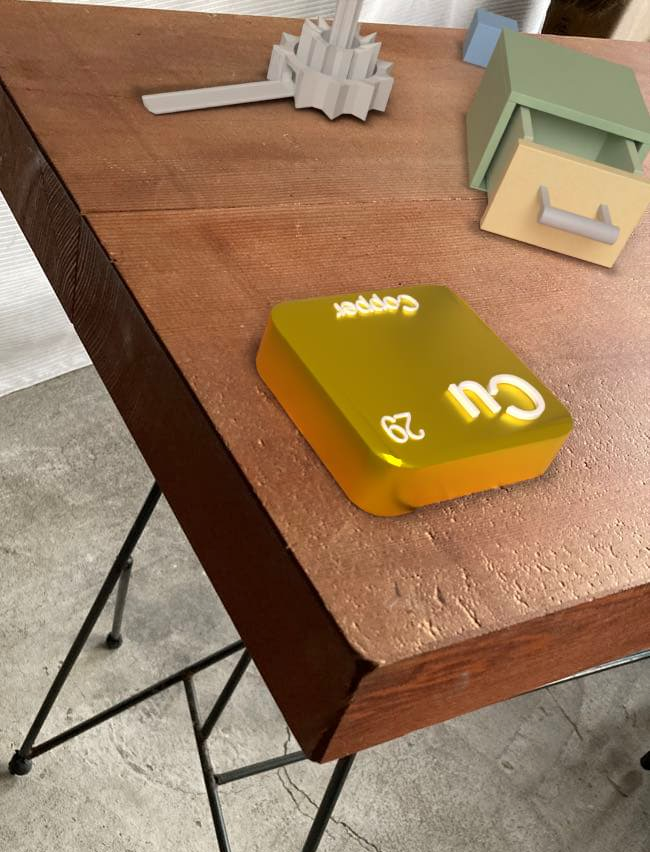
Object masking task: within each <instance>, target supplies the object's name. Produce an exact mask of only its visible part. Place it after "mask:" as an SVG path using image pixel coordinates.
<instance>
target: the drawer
mask: <svg viewBox="0 0 650 852" xmlns="http://www.w3.org/2000/svg"><path fill="white" fill-rule="evenodd" d="M642 165H643V164H642ZM642 165H641V162H640V159H639V155H638V152H637V149H636V146H635V143H634V140H633V139H629V138H626V137H623V136H620V135H617V134H613V133H610V132H607V131H604V130H601V129H597V128H594V127H591V126H588V125H585V124H581V123H578V122H575V121H572V120H569V119H566V118H562V117H559V116H556V115H553V114H550V113H546V112H543V111H540V110H537V109H534V108H530V107H527V106H524V105H521V104H518V103H516V106H515V108H514V110H513V113H512V115H511V117H510V119H509V121H508V124H507V126H506V128H505V130H504V133H503V135H502V137H501V139H500V142H499V144H498V146H497V148H496V151H495V153H494V155H493V157H492V160H491V162H490V164H489V166H488V168H487V171H486V182H487V192H486V194H487V205H486V208H485V210H484V212H483V214H482V216H481V218H480V221H479V228H480V230H483V231H486V232H490V233H492V234H497V235H499V236H502V237H506V238H510V239H512V240H516V241H518V242H522V243H526V244H529V245H533V246H536V247H539V248H542V249H546V250H549V251H553V252H556V253H559V254H563V255H566V256H569V257H573V258H575V259H579V260H583V261H585V262H589V263H592V264H596V265H598V266H602V267H606V268H609V269H611V268H612V267H613V265H614V264H615V263H616V261H617V259H618V257H619V256H620V255H621V253H622V251H623V249H624V248H625V245H626V244H627V242H628V240H629V239H630V237H631V235H632V233H633V232H634V230H635V229H636V227H637V226H638V223H639V222H640V220H641V218H642V217H643V215H644V213H645V212H646V210H647V209H648V207H649V205H650V178H648V177H647V176H646V177H645V176H644V174H645V171H644V168H643V166H642Z"/></svg>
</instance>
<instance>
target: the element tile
mask: <svg viewBox="0 0 650 852" xmlns="http://www.w3.org/2000/svg"><path fill="white" fill-rule="evenodd" d="M255 366H256V371H257V373H258V375H259V377H260V378H261V379H262V381H263V382H264V384H265V385H266V387H267V388H268V389H269V390H270V391H271V393H272V395H273V396H274V398H275V399H276V401H277V402H278V403H279V404H280V406H281V407H282V409H283V410H284V412H286V415H288V417H289V418H290V420H291V421H292V422H293V424H294V425H295V427H296V428H297V429H298V431H299V432H300V433H301V435H302V436H303V437H304V439H305V440H306V442H307V443H308V445H309V446H310V447H311V448H312V450H313V451H314V453H315V454H316V456H317V457H318V458H319V460H320V461H321V462H322V464H323V465H324V466H325V467H326V469H327V471H328V472H329V473H330V475H331V476H332V477H333V479H334V480H335V481H336V483H337V484H338V486H339V488H340V489H341V490H342V491H343V492H344V494H345V495H346V497H347V498H348V499H349V500H350V501H351V502H352V503H353V504H354V505H355V506H357V507H359V508H360V509H361V510H363V512H365V513H368V514H371V515H374V516H377V517H385V518H387V517H388V518H389V517H398V516H403V515H406V514H410V513H413V512H416V509H417V508H421V507H424V506H428V505H432V504H437V503H440V502H443V501H447V500H451V499H456V498H460V497H463V496H469V495H471V494H476V493H479V492H483V491H487V490H492V489H496V488H500V487H503V486H508V485H511V484H515V483H519V482H523V481H527V480H532V479H535V478H537V477H540V476H543V474H544V473H546V471H547V470H548V468H549V467H550V465H551V464H552V462H553V461H554V459H555V458H556V456H557V455H558V453H559V452H560V451H561V449H562V447H563V446H564V444H565V442H566V441H567V439H568V438H569V437H570V434H571V433H572V432H573V430H574V423H575V420H574V419H573V416H572V415H571V412H570V411H569V409H568V408H567V406H566V405H564V403H563V402H562V401H561V400H560V399H559V398H558V397H557V396H556V395H555V394H554V393H553V392H552V391H551V390H550V388H548V386H547V385H546V384H544V382H543V381H542V380H541V379H540V378H539V377H538V376H537V375H536V374H535V372H533V370H531V369H530V368H529V367H528V365H526V364H525V362H524V361H523V360H522V359H521V358H520V357H519V356H518V355H517V354H516V353H515V352H514V351H513V350H512V348H511V347H509V345H507V343H506V342H505V341H504V340H503V339H502V338H501V337H500V336H499V335H498V334H497V333H496V332H495V331H494V330H493V329H492V328H491V327H490V326H489V324H487V322H485V320H484V319H483V318H482V317H481V316H480V315H479V314H478V313H477V312H476V311H475V310H474V309H473V308H472V306H470V305H469V303H468V302H467V301H466V300H465V299H464V298H462V297H461V295H459V294H458V293H456V292H455V291H454V290H453V289H451V288H449V287H448V286H446V285H439V284H437V285H436V284H416V285H406V286H400V287H389V288H382V289H381V288H380V289H371V290H363V291H354V292H347V293H337V294H336V293H335V294H329V295H320V296H312V297H303V298H293V299H287V300H283V301H280V302H278V303H276V304H274V305H273V306H272V308H271V310H270V312H269V314H268V317H267V321H266V325H265V327H264V331H263V334H262V338H261V341H260V344H259V347H258V350H257V353H256V357H255Z"/></svg>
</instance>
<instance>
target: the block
mask: <svg viewBox="0 0 650 852" xmlns="http://www.w3.org/2000/svg"><path fill="white" fill-rule="evenodd" d="M471 19H472V20H471V22H470V24H469V27H468V30H467V31H466V35H465V37H464V40H463V43H462V61H464V62H466V63H469V64H473V65H476V66H479V67H483V68H485V69H486V68H487V65H488V63H489V60H490V58H491V55H492V53H493V51H494V48H495V46H496V43H497V41H498V38H499V37H500V34H501V31H502V29H503V27H504V28H507V29H511V30H514V31H517V32H520V31H519V30H520V29H519V25H518V20H516V19H513V18H511V17H506V16H503V15H501V14H498V13H495V12H491V11H487V10H485V9H482V8H478V7H477V8H476V9H475V12H474V14H473V17H472V18H471Z"/></svg>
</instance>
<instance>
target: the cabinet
mask: <svg viewBox="0 0 650 852" xmlns="http://www.w3.org/2000/svg"><path fill="white" fill-rule="evenodd" d="M516 103H518V104H521V105H524V106H527V107H530V108H534V109H537V110H540V111H543V112H546V113H550V114H553V115H556V116H559V117H562V118H566V119H569V120H572V121H575V122H578V123H581V124H585V125H588V126H591V127H594V128H597V129H601V130H604V131H607V132H610V133H613V134H617V135H620V136H623V137H626V138H629V139H633V140H634V143H635V146H636V149H637V152H638V155H639V159H640V162H641V165H643V163H644V161H645V160H646V158H647V155H648V154H649V152H650V114H649V110H648V107H647V105H646V102H645V99H644V96H643V94H642V91H641V88H640V86H639V83H638V80H637V77H636V74H635V71H634V69H633V68H632V67H629V66H627V65H623V64H621V63H617V62H614V61H611V60H607V59H604V58H601V57H598V56H595V55H592V54H589V53H585V52H583V51H580V50H576V49H573V48H570V47H566V46H563V45H562V44H561V45H560V44H558V43H554V42H552V41H548V40H545V39H542V38H538V37H536V36H532V35H529V34H526V33H523V32H520V31H519V32H517V31H514V30H511V29H507V28H504V27H503V29H502V31H501V34H500V37H499V38H498V41H497V43H496V46H495V48H494V51H493V53H492V55H491V58H490V60H489V63H488V65H487V68H485V70H484V73H483V75H482V77H481V80H480V82H479V85H478V87H477V89H476V92H475V94H474V96H473V100H472V101H471V104H470V105H469V106H470V107H469V109H468V111H467V113H466V116H465V121H466V123H465V124H466V140H467V141H466V142H467V144H466V145H467V162H468V163H467V164H468V181H469V187H470V188H473V189H476V190H479V191H483V192H486V193H487V182H486V171H487V168H488V166H489V164H490V162H491V160H492V157H493V155H494V153H495V151H496V148H497V146H498V144H499V142H500V139H501V137H502V135H503V133H504V130H505V128H506V126H507V124H508V121H509V119H510V117H511V115H512V113H513V110H514V108H515V106H516Z"/></svg>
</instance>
